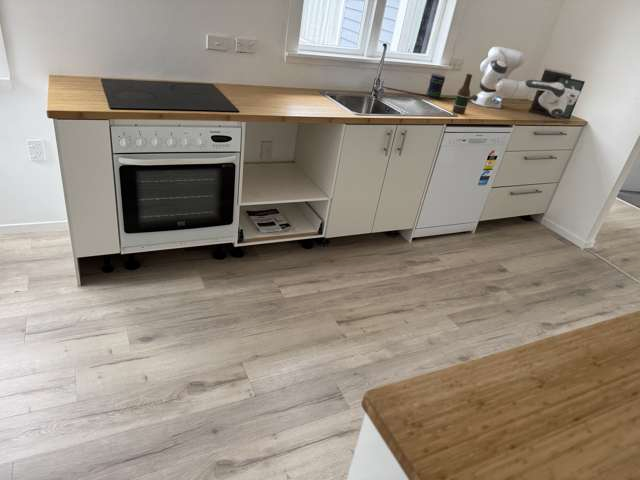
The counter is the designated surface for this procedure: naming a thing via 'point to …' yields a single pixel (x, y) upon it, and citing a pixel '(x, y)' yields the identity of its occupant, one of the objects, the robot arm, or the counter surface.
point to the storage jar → (435, 86)
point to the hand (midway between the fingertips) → (565, 85)
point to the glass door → (568, 84)
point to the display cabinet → (547, 76)
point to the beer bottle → (462, 96)
